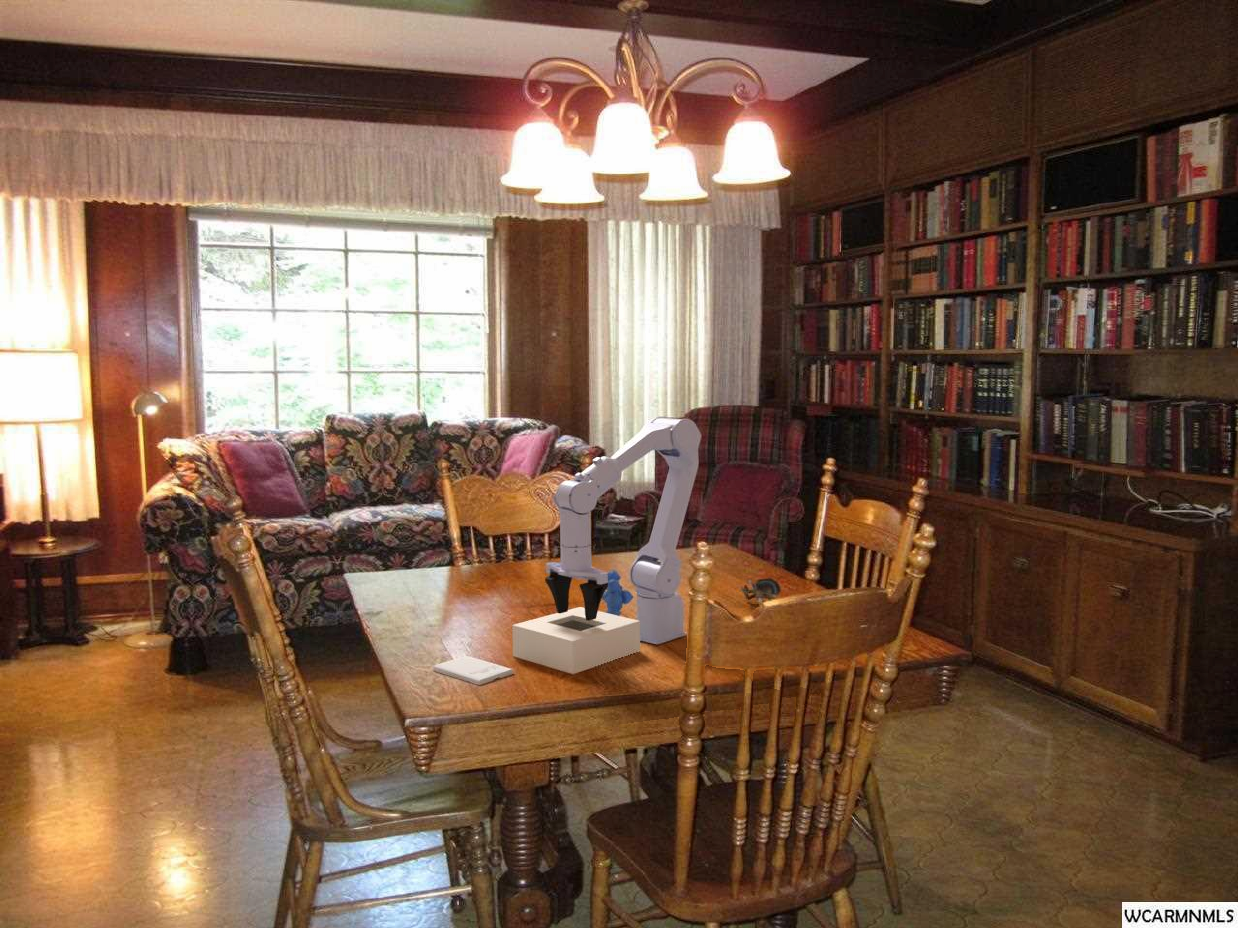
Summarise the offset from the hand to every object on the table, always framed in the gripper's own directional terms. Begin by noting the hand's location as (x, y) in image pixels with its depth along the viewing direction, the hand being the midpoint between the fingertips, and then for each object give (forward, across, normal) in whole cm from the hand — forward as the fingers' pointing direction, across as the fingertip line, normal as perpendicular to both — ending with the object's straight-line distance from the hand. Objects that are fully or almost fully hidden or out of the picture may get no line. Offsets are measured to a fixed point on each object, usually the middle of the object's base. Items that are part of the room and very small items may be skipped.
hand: (576, 615), depth 187 cm
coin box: (+7, 0, 0) cm, 7 cm away
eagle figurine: (+8, +5, +54) cm, 55 cm away
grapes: (+8, -8, +20) cm, 23 cm away
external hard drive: (+8, -6, -20) cm, 22 cm away
